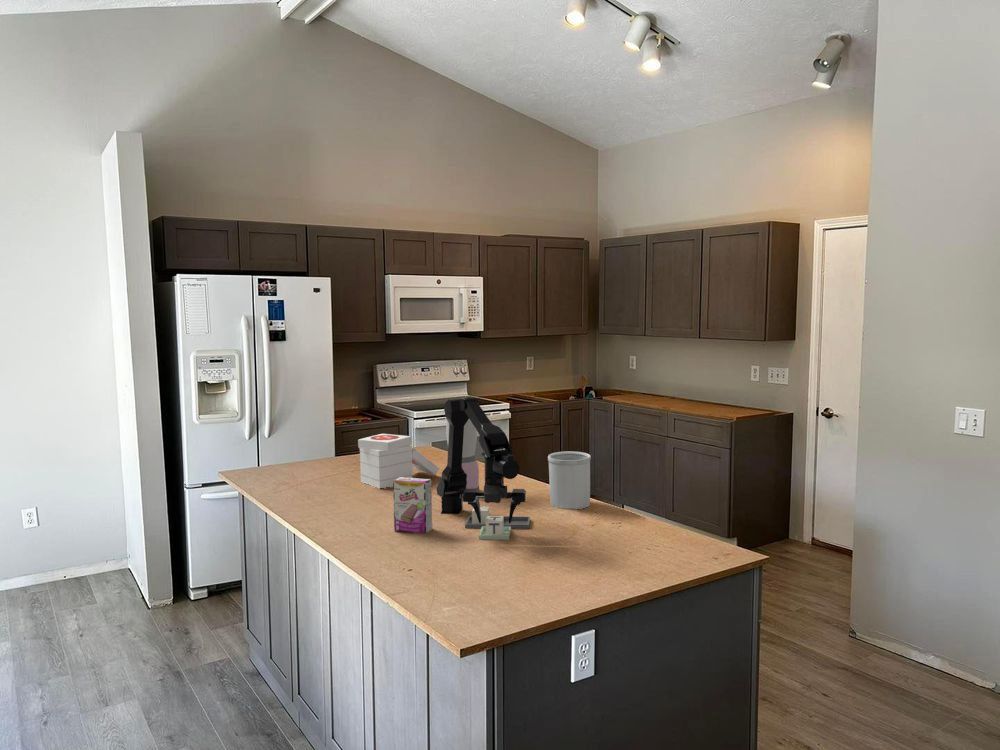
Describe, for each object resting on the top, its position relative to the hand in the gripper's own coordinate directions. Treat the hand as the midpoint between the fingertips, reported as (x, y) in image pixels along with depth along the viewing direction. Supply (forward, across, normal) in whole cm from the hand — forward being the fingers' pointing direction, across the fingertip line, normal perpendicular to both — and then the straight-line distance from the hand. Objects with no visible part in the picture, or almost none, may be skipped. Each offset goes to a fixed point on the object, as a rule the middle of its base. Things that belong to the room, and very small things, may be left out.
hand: (494, 523), depth 226 cm
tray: (+4, 0, 0) cm, 4 cm away
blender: (+4, -17, +50) cm, 53 cm away
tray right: (+4, +6, +11) cm, 13 cm away
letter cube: (+4, 0, 0) cm, 4 cm away
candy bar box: (+4, -26, +4) cm, 27 cm away
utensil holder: (+4, +23, +36) cm, 43 cm away
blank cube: (+4, -6, +11) cm, 13 cm away
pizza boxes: (+4, -45, +70) cm, 84 cm away
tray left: (+4, -6, +11) cm, 13 cm away
